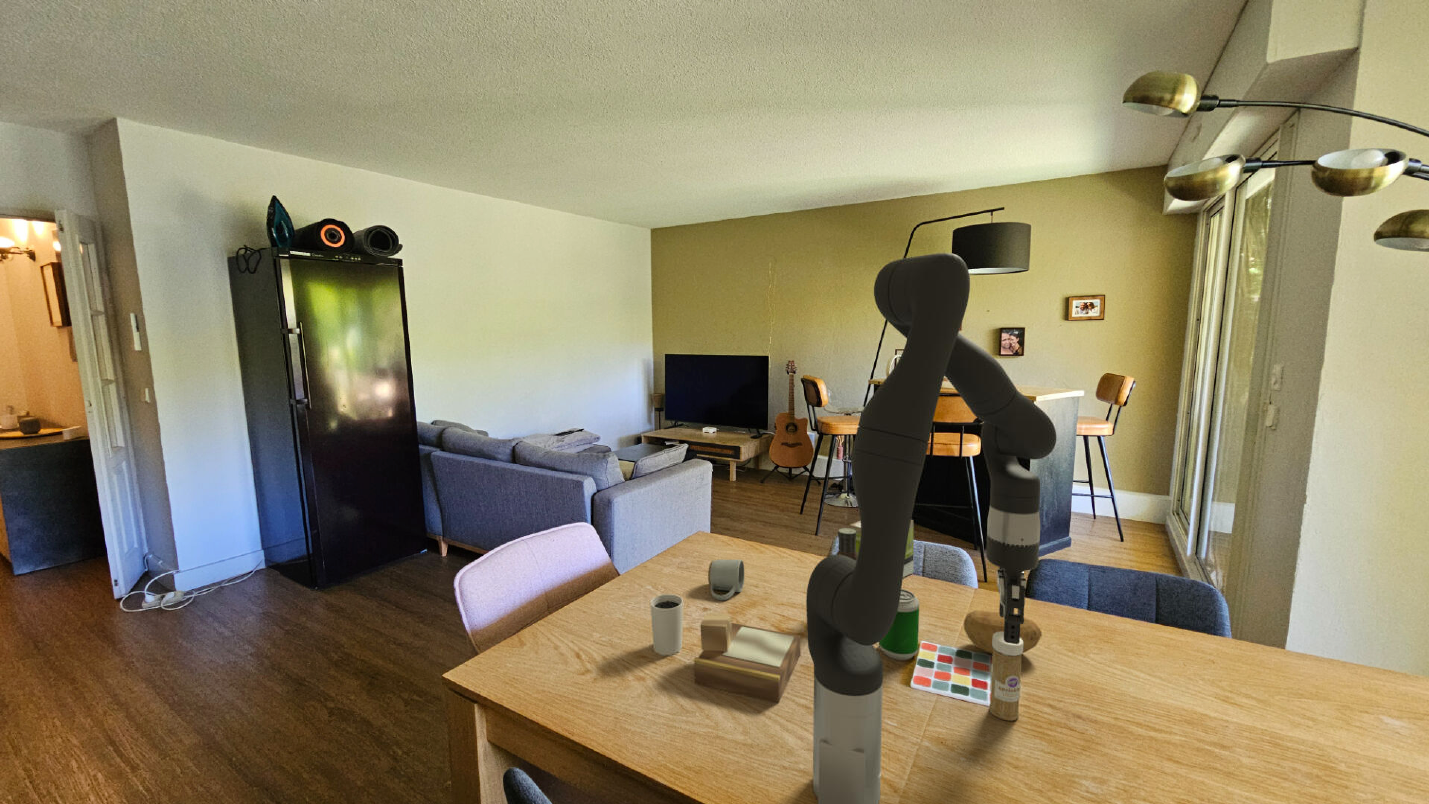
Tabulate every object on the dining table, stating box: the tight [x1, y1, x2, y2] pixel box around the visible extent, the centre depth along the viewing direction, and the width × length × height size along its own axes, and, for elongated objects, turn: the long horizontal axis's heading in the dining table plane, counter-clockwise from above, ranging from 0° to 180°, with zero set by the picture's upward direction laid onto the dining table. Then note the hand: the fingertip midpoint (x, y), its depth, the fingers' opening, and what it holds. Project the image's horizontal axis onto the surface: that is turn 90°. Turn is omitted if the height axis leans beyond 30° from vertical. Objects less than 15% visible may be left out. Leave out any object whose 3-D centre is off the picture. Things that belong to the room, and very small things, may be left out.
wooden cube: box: [699, 612, 733, 652], centre depth 111 cm, size 5×5×5 cm
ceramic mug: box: [707, 559, 745, 601], centre depth 142 cm, size 11×8×8 cm
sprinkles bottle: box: [988, 632, 1023, 721], centre depth 96 cm, size 5×5×14 cm
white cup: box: [649, 593, 684, 656], centre depth 117 cm, size 7×7×10 cm
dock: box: [693, 622, 802, 704], centre depth 110 cm, size 16×16×5 cm
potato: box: [963, 609, 1043, 655], centre depth 114 cm, size 10×14×8 cm
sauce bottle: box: [835, 527, 858, 561], centre depth 128 cm, size 7×6×20 cm
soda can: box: [878, 588, 920, 661], centre depth 114 cm, size 8×8×12 cm
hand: (1008, 629), depth 95 cm, fingers open, 8 cm apart
